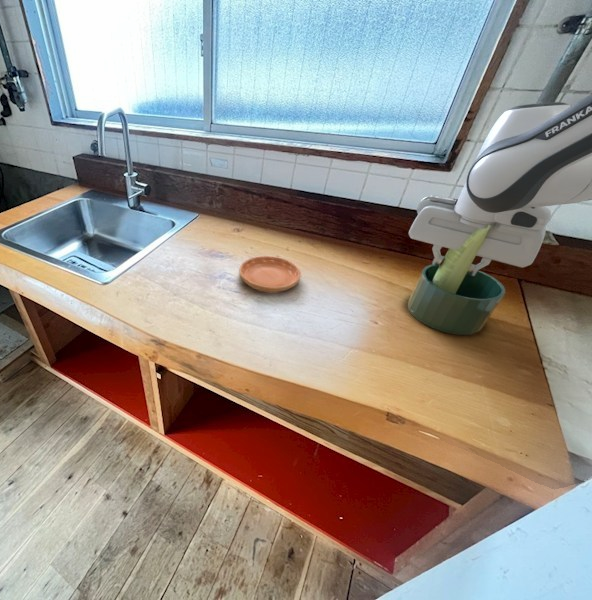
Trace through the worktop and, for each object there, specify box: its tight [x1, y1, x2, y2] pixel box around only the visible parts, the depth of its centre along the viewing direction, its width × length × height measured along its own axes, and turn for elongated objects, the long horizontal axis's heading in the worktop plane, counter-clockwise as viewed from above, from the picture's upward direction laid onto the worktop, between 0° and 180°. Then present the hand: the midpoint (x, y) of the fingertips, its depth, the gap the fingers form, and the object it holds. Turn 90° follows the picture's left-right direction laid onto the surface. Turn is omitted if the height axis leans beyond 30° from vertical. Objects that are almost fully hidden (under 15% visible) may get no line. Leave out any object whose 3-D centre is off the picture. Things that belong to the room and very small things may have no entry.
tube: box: [431, 224, 491, 294], centre depth 66 cm, size 6×5×20 cm
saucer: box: [238, 255, 302, 294], centre depth 86 cm, size 16×16×3 cm
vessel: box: [407, 263, 506, 336], centre depth 70 cm, size 14×14×9 cm
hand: (453, 269), depth 67 cm, fingers closed on tube, 5 cm apart
